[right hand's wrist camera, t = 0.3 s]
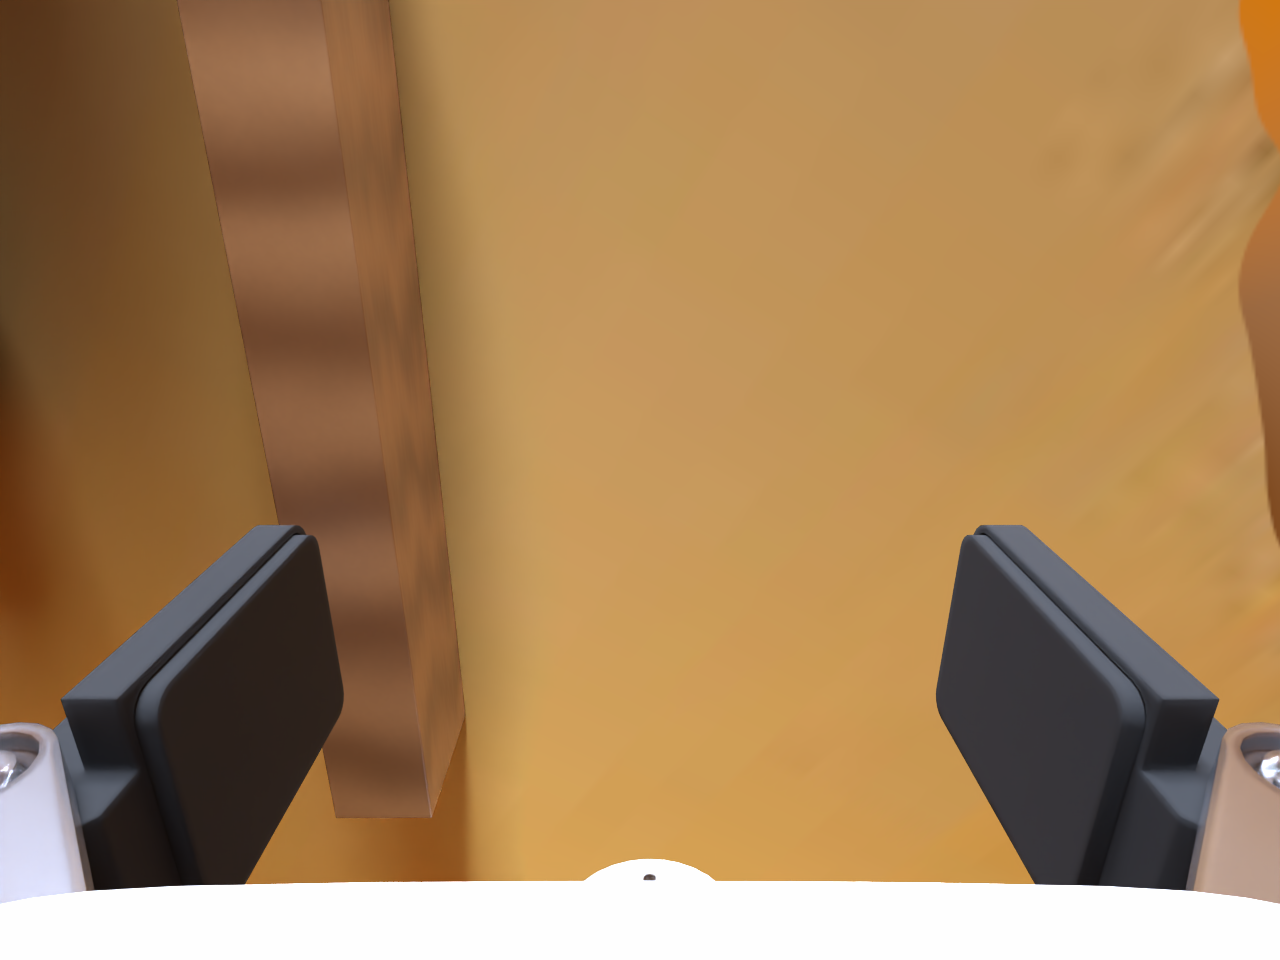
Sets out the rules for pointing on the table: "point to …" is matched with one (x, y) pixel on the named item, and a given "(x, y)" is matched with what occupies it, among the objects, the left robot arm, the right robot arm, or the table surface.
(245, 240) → the post
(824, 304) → the table surface
